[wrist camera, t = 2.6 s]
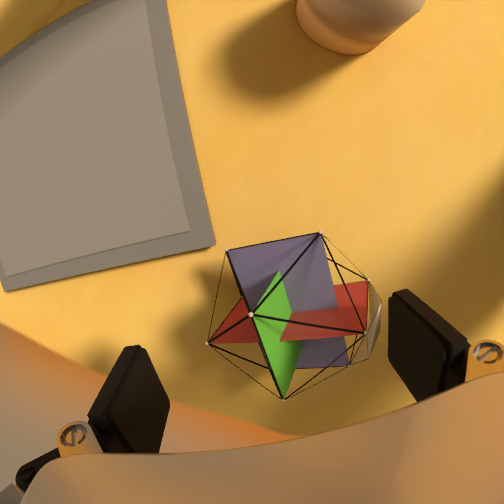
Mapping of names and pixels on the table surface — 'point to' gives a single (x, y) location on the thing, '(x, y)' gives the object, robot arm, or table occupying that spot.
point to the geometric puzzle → (297, 308)
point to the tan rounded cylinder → (353, 22)
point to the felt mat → (96, 147)
